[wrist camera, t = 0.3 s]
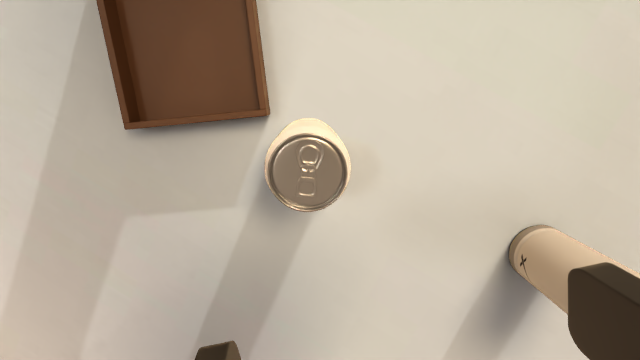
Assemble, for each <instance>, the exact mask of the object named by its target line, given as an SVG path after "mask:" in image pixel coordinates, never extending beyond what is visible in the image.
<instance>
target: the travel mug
mask: <svg viewBox="0 0 640 360" xmlns="http://www.w3.org/2000/svg"><path fill="white" fill-rule="evenodd" d="M509 260H510V263H511V265H512V267H513V268H514V270H515V271H516V272H518V273H519V274H520V275H521V276H522V277H524V278H525V279H526V280H527V281H528V282H530V283H531V284H532V285H533V286H534V287H536V288H537V289H538V290H539V291H540V292H541V293H543V294H544V295H545V296H546V297H547V298H549V299H550V300H551V301H552V302H553V303H555V304H556V305H557V306H558V307H559V308H561V309H562V310H563V311H564V312H565V313H567V314H568V274H569V272H570V271H571V270H572V269H575V268H580V267H584V266H589V265H594V264H598V263H603V262H609V263H612V264H614V265H616V266H618V267H620V268H622V269H623V270H625V271H627V272H629V273H631V274H633V275H634V276H636V277H638V278H640V274H639V273H637V272H635V271H633V270H631V269H630V268H628V267H626V266H624V265H622V264H620V263H618V262H616V261H615V260H613V259H611V258H609V257H607V256H605V255H603V254H601V253H599V252H598V251H596V250H594V249H592V248H590V247H588V246H586V245H584V244H582V243H581V242H579V241H577V240H575V239H573V238H571V237H569V236H567V235H566V234H564V233H562V232H560V231H558V230H556V229H554V228H552V227H550V226H546V225H536V226H532V227H529V228H527V229H525V230H523V231H522V232H520V233H519V234H518V235H517V236H516V237H515V239H514V240H513V242H512V244H511V246H510V250H509Z"/></svg>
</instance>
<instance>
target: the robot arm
mask: <svg viewBox="0 0 640 360" xmlns="http://www.w3.org/2000/svg"><path fill="white" fill-rule="evenodd" d="M568 327H569V331H570V334H571V336H572V338H573V340H574V342H575V344H576V345H577V347H578V348H579V349H580V350H581V352H582V353H583V354H584V355H585V356H586V357H588V358H589V359H590V360H640V278H638V277H636V276H634V275H633V274H631V273H629V272H627V271H625V270H623V269H622V268H620V267H618V266H616V265H614V264H612V263H609V262H603V263H598V264H594V265H589V266H584V267H580V268H575V269H572V270H571V271H570V272H569V274H568ZM195 360H241V357H240V354H239V351H238V348H237V345H236V343H235V342H234V341H229V342H224V343H220V344H215V345H210V346H206V347H201V348H200V349H199V350H198V353H197V355H196V358H195Z"/></svg>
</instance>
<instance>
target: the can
mask: <svg viewBox="0 0 640 360" xmlns="http://www.w3.org/2000/svg"><path fill="white" fill-rule="evenodd" d="M264 168H265V177H266V181H267V184H268V186H269V188H270V190H271V191H272V193H273V194H274V195H275V196H276V197H277V199H278V200H279V201H280V202H282V203H283V204H284V205H286V206H287V207H289V208H291V209H294V210H297V211H303V212H312V211H318V210H321V209H324V208H326V207H328V206H329V205H331V204H332V203H333V202H335V201H336V200H337V199H338V198H339V197H340V195H341V194H342V193H343V191H344V190H345V188H346V186H347V184H348V181H349V178H350V171H351V165H350V158H349V155H348V152H347V150H346V148H345V146H344V144H343V143H342V141H341V140H340V138H339V137H338V136H337V134H336V133H335V132H334V131H333V129H332V128H331V127H330V126H328V125H327V124H326V123H324V122H323V121H321V120H318V119H313V118H305V119H299V120H296V121H294V122H292V123H290V124H289V125H288V126H286V127H285V128H284V129H283V130H282V132H281V133H280V134H279V135H278V136H277V138H276V139H275V140H274V141H273V143H272V144H271V146H270V148H269V150H268V152H267V155H266V159H265V167H264Z"/></svg>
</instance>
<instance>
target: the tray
mask: <svg viewBox="0 0 640 360" xmlns="http://www.w3.org/2000/svg"><path fill="white" fill-rule="evenodd" d="M96 1H97V5H98V10H99V14H100V19H101V23H102V28H103V33H104V37H105V42H106V46H107V51H108V55H109V60H110V64H111V69H112V73H113V78H114V82H115V87H116V92H117V96H118V101H119V105H120V110H121V114H122V119H123V123H124V128H125V130H127V129H137V128H147V127H157V126H167V125H178V124H188V123H198V122H208V121H218V120H228V119H238V118H248V117H258V116H267V115H269V114H270V108H269V100H268V92H267V84H266V76H265V68H264V60H263V52H262V44H261V36H260V29H259V21H258V13H257V5H256V0H96Z"/></svg>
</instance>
